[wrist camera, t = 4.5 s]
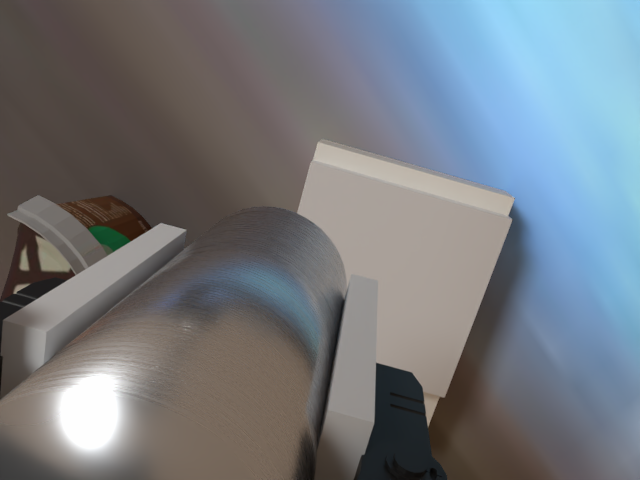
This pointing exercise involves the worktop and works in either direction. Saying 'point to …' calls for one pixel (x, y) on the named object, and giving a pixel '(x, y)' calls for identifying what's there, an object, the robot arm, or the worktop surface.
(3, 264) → the worktop surface
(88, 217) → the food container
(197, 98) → the worktop surface
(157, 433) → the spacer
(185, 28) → the worktop surface
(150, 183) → the worktop surface
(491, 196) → the scale
